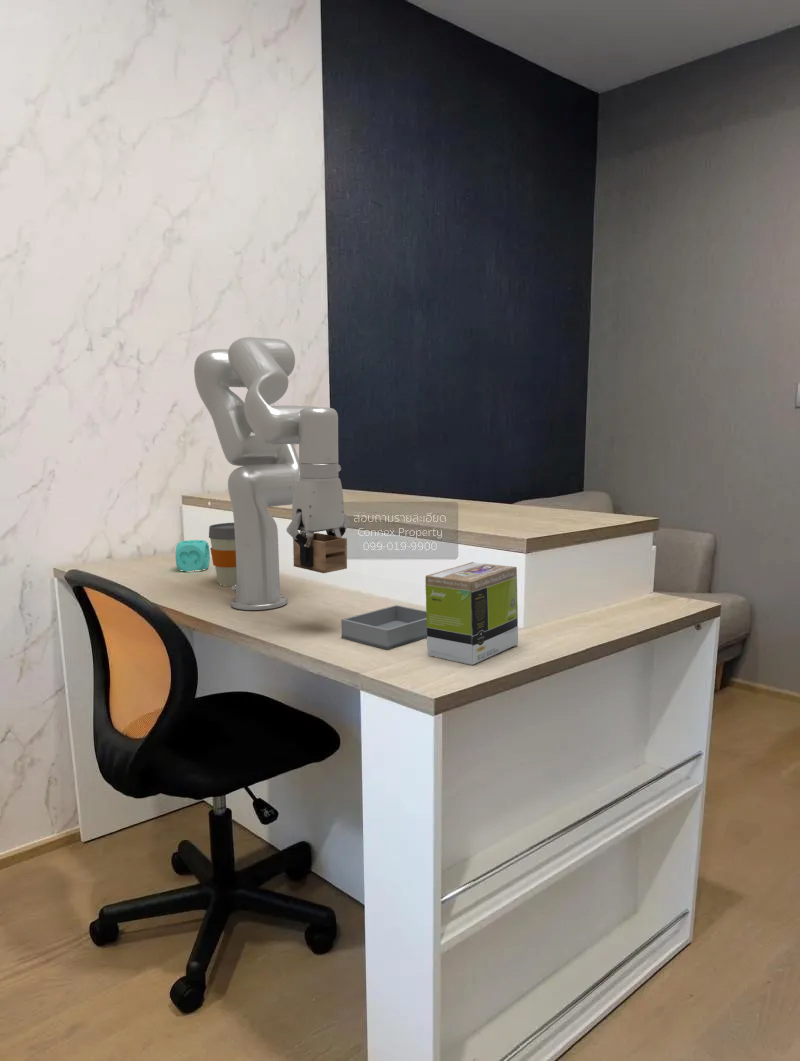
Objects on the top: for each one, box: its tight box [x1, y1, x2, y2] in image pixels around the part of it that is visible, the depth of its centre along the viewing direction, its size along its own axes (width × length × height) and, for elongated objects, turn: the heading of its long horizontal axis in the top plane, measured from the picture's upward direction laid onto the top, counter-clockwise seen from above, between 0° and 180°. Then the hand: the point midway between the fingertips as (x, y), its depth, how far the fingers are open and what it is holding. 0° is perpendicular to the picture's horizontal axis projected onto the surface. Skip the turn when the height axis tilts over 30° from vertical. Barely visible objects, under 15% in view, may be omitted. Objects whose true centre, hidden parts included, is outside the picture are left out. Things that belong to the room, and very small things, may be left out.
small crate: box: [292, 532, 348, 574], centre depth 151 cm, size 9×6×6 cm, turn 47°
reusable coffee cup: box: [208, 522, 237, 587], centre depth 199 cm, size 13×13×15 cm
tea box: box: [425, 561, 519, 666], centre depth 136 cm, size 15×10×15 cm
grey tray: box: [340, 604, 427, 651], centre depth 147 cm, size 12×15×4 cm
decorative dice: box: [175, 539, 211, 571], centre depth 218 cm, size 8×8×8 cm
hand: (320, 562), depth 151 cm, fingers closed on small crate, 6 cm apart
